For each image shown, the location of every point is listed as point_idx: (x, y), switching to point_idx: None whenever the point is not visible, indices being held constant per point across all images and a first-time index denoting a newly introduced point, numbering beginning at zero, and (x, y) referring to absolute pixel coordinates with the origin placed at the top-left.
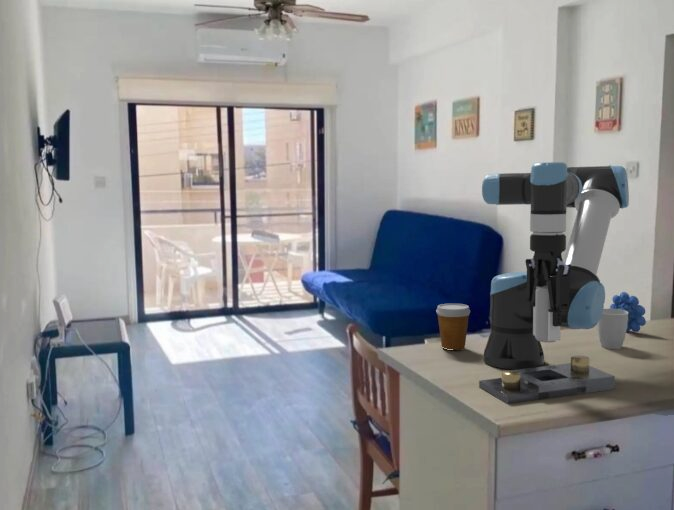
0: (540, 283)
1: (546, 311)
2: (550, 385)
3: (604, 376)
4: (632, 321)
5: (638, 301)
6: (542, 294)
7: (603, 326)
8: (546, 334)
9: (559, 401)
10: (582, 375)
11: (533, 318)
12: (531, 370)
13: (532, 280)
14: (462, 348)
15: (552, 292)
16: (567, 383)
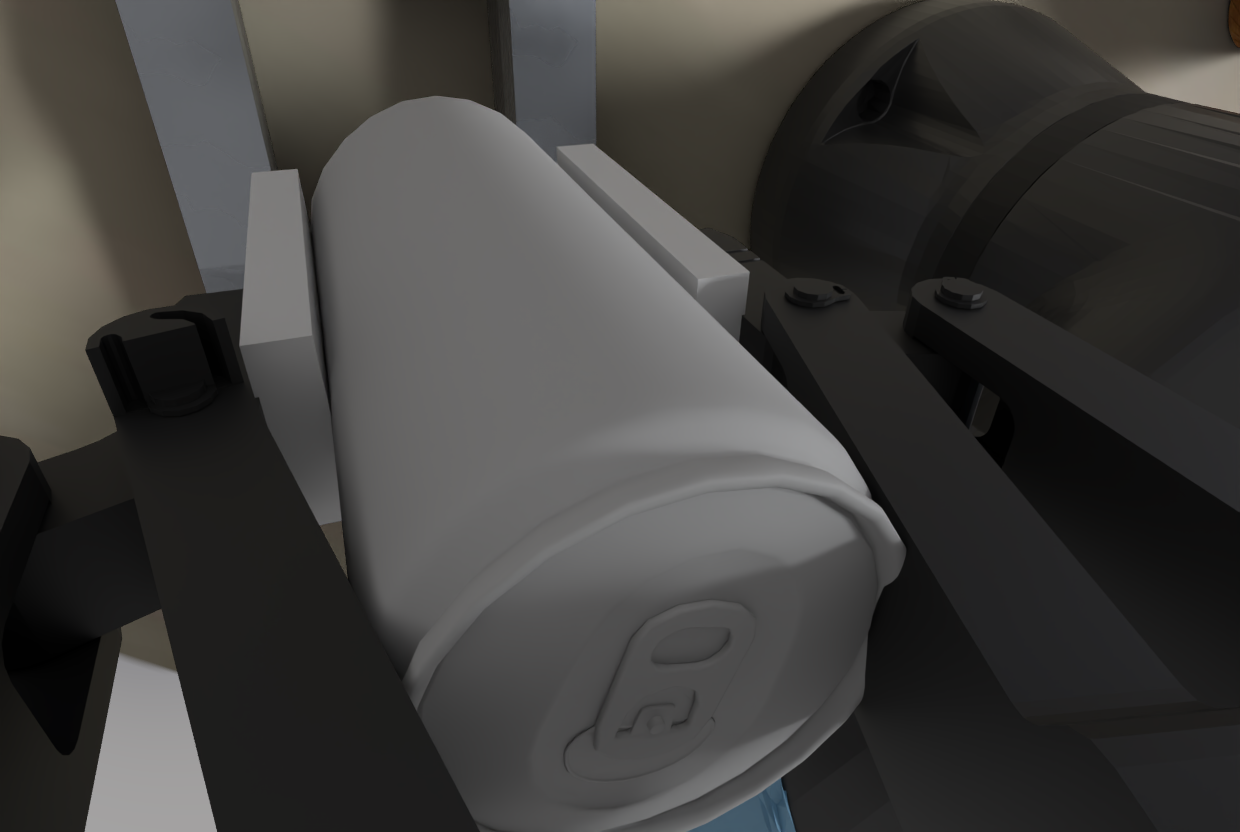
0: (924, 663)
1: (354, 317)
2: (118, 7)
3: None
4: None
5: None
6: (465, 442)
7: None
8: (331, 188)
9: (39, 21)
10: None
11: (665, 208)
12: (539, 83)
13: (1222, 588)
14: (1238, 13)
15: (185, 684)
16: (175, 185)
